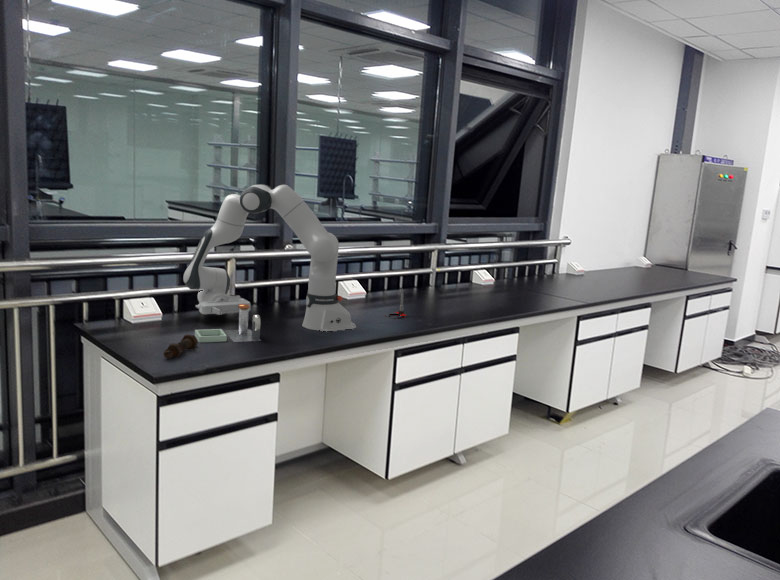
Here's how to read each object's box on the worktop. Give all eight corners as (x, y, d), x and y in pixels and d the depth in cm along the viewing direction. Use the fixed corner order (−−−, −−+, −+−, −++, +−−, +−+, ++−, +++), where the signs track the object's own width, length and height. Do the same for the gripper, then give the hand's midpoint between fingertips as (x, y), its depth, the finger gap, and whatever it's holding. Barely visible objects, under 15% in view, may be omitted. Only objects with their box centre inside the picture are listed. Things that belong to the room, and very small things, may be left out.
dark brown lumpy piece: (165, 365, 202) (188, 351, 216) (177, 359, 201) (200, 346, 215) (157, 349, 201) (181, 336, 216) (169, 343, 200) (192, 331, 214)
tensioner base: (250, 331, 243) (251, 306, 241) (260, 343, 229) (262, 316, 227) (224, 332, 238) (225, 307, 236) (233, 344, 224) (234, 317, 222)
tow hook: (391, 320, 284) (408, 317, 290) (393, 292, 281) (409, 290, 287) (381, 316, 291) (397, 314, 296) (382, 289, 288) (398, 287, 293)
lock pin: (247, 331, 239) (248, 303, 237) (249, 334, 236) (250, 305, 234) (236, 332, 237) (237, 303, 235) (238, 334, 234) (239, 306, 232)
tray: (221, 336, 233) (221, 328, 232) (226, 343, 224) (226, 335, 224) (194, 337, 228) (194, 329, 228) (199, 345, 220) (199, 336, 220)
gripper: (194, 297, 248) (206, 305, 237) (242, 295, 260) (256, 302, 250) (193, 313, 249) (206, 321, 239) (241, 309, 262) (255, 317, 251)
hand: (232, 311), depth 244 cm, fingers open, 8 cm apart
